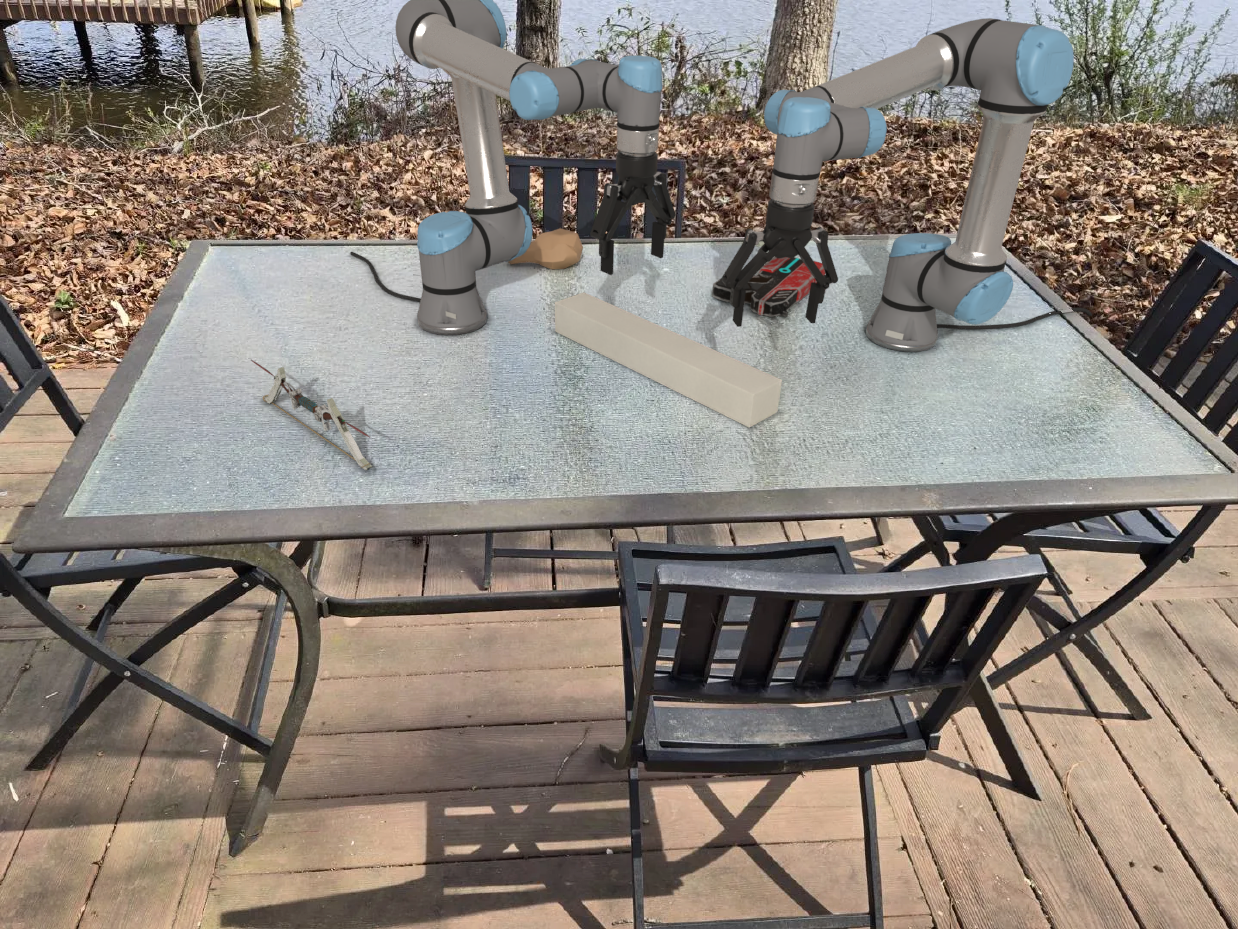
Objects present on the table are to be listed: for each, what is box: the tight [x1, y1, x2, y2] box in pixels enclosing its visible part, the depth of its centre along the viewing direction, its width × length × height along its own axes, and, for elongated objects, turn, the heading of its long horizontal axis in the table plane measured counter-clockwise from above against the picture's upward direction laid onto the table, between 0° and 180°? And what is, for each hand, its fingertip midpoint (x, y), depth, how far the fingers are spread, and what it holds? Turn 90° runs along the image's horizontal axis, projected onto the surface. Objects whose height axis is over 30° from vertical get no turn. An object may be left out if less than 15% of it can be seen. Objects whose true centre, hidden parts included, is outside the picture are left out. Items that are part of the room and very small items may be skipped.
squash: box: [507, 227, 584, 270], centre depth 225 cm, size 11×20×9 cm, turn 90°
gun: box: [711, 256, 826, 318], centre depth 215 cm, size 4×31×19 cm
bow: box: [250, 359, 373, 471], centre depth 154 cm, size 39×2×10 cm, turn 47°
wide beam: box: [554, 291, 783, 428], centre depth 179 cm, size 55×9×7 cm, turn 44°
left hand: (632, 264), depth 170 cm, fingers open, 13 cm apart
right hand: (773, 321), depth 154 cm, fingers open, 13 cm apart
